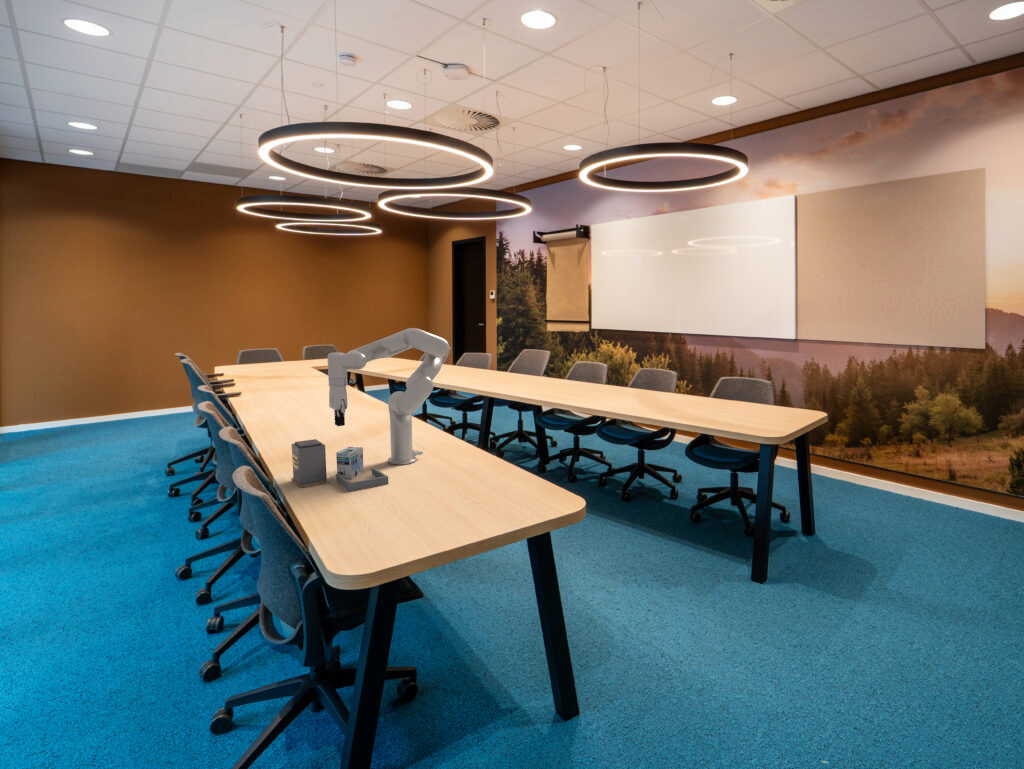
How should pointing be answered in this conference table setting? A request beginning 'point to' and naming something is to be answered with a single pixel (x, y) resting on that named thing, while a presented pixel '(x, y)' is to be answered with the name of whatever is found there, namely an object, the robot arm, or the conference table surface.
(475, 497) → the conference table surface
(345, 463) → the light bulb box
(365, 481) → the bay
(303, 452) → the block
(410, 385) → the robot arm
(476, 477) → the conference table surface
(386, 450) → the conference table surface
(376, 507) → the conference table surface
